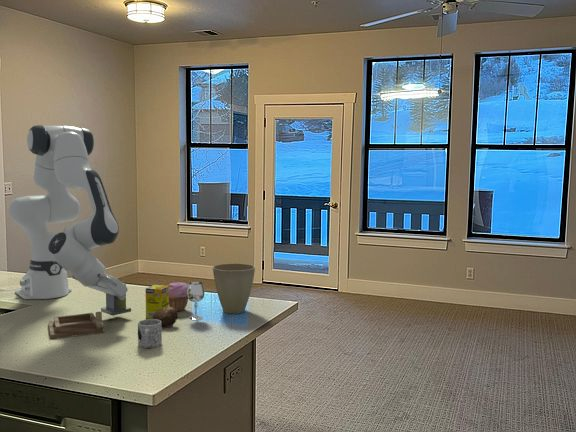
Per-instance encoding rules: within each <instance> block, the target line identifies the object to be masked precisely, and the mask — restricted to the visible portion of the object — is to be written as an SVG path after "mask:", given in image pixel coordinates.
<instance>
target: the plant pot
mask: <svg viewBox="0 0 576 432" xmlns="http://www.w3.org/2000/svg"><path fill="white" fill-rule="evenodd" d="M212 272H213V278H214V285H215V289H216V293H217V298H218V300H219V303H220V306H221V308H222V311H223V312H224V313H225V314H231V315H232V314H233V315H235V314H241V313H244V312H245V310H246V308H247V305H248V302H249V298H250V296H251V292H252V289H253V283H254V279H255V278H254V277H255V272H256V266H255V265H253V264H249V263H238V262H237V263H236V262H235V263H234V262H233V263H231V262H230V263H222V264H216V265H213V266H212Z"/></svg>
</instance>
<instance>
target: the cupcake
mask: <svg viewBox="0 0 576 432" xmlns="http://www.w3.org/2000/svg"><path fill="white" fill-rule="evenodd" d="M188 285H189V284H188V283H185V282H179V281H178V282H177V281H175V282H170V283H169V284H168V285H167V286H169V307H172V308H174V309H176V311H177V312H180V311H184V310H185V309H186V307H187V306H188V301H189V299H188V296H187V289H188Z"/></svg>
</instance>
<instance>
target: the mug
mask: <svg viewBox="0 0 576 432" xmlns="http://www.w3.org/2000/svg"><path fill="white" fill-rule="evenodd" d="M162 330H163V329H162V325H161V321H160V320H157V319H147V320H146V319H144V320H143V319H142V320H140V321H138V322H137V346H138V348H140V349H144V350H145V349H147V350H148V349H156V348H160V347H161V346H162V344H163V341H162V336H163V335H162Z"/></svg>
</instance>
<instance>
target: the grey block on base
mask: <svg viewBox="0 0 576 432" xmlns="http://www.w3.org/2000/svg"><path fill="white" fill-rule="evenodd" d="M121 283H122V284H124V285H125V286H126V287H127V283H124V282H121ZM124 296H125V298H124V300H119V299H118V298H117V296H114V295H111V294H108V293H106V294H105V306H104V307H100V312H102V313H104V314H106V315H110V316H113V317H114V316H117V315H122V314H123V315H124V314H126V313H130V312H132V307H130V306H127V293H126V294H125V295H124Z"/></svg>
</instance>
